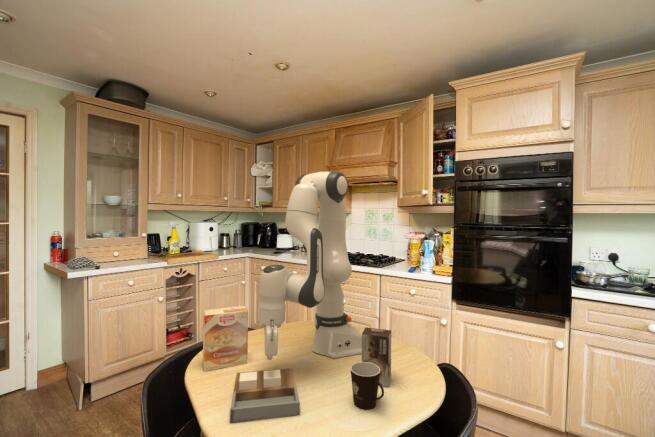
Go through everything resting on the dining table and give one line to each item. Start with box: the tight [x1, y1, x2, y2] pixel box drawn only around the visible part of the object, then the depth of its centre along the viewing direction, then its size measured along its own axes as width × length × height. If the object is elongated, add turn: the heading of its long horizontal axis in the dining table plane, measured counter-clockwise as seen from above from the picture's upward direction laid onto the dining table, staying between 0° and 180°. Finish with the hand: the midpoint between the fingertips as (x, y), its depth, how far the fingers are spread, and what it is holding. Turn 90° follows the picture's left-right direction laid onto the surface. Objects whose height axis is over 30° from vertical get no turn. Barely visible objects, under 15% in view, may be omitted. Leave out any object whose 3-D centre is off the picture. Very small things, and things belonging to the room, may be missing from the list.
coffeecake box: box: [202, 305, 249, 372], centre depth 114 cm, size 15×7×20 cm, turn 115°
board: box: [233, 367, 297, 401], centre depth 97 cm, size 18×12×3 cm, turn 102°
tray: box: [229, 385, 301, 424], centre depth 87 cm, size 18×8×4 cm, turn 102°
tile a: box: [264, 369, 281, 388], centre depth 96 cm, size 5×5×2 cm
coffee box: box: [360, 327, 392, 388], centre depth 104 cm, size 9×6×16 cm
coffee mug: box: [349, 361, 385, 411], centre depth 89 cm, size 12×9×10 cm
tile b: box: [239, 371, 257, 390], centre depth 94 cm, size 5×5×2 cm
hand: (269, 357), depth 102 cm, fingers closed
